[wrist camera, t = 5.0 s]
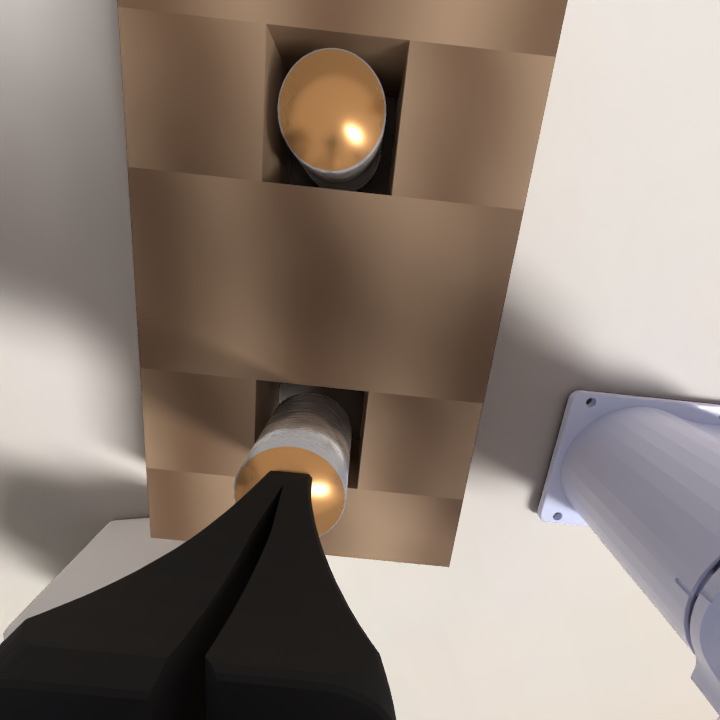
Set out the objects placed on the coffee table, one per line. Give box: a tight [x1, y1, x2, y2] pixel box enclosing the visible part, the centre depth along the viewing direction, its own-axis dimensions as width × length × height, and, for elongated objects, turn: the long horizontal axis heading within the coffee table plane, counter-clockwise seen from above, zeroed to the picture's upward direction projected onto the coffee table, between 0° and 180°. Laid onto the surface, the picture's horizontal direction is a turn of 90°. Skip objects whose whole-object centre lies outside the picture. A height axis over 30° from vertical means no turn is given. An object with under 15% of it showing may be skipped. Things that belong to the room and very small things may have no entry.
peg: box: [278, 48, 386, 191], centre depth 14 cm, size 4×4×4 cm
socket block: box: [117, 0, 568, 567], centre depth 16 cm, size 14×24×4 cm, turn 174°
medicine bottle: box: [4, 518, 186, 640], centre depth 17 cm, size 7×7×12 cm
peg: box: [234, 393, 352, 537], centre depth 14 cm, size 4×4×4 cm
